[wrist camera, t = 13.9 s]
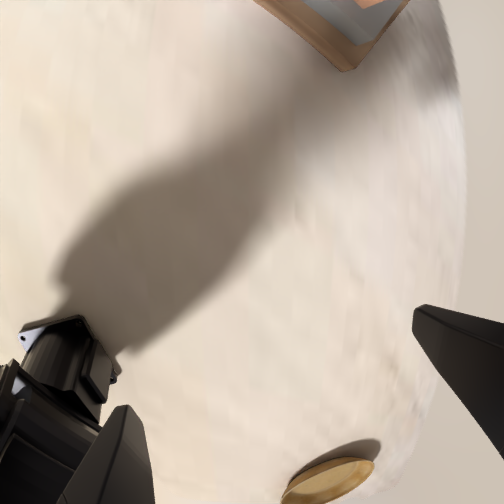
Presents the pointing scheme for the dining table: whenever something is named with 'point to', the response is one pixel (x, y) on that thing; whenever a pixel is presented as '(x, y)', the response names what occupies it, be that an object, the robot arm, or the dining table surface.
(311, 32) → the tower base slab
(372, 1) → the terracotta block
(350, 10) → the tower top slab
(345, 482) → the plant saucer
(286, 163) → the dining table surface
